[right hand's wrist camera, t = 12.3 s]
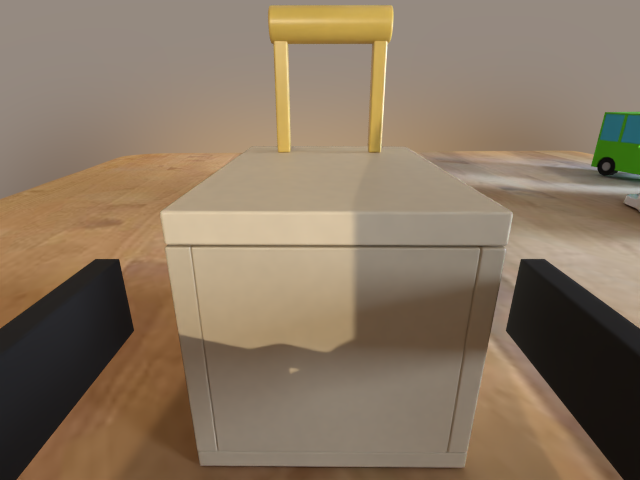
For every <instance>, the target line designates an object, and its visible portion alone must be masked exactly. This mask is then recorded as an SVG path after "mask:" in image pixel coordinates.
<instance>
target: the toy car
mask: <svg viewBox="0 0 640 480" xmlns="http://www.w3.org/2000/svg"><path fill="white" fill-rule="evenodd" d="M591 166H594V167H598V171H599V173H600V174H602V175H614V174H615V173H617V172H618V171H621V172H627V173H632V174H638V175H640V112H605V115H604V119H603V122H602V126H601V130H600V134H599V138H598V142H597V145H596V150H595V153H594V157H593V161H592V165H591Z"/></svg>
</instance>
